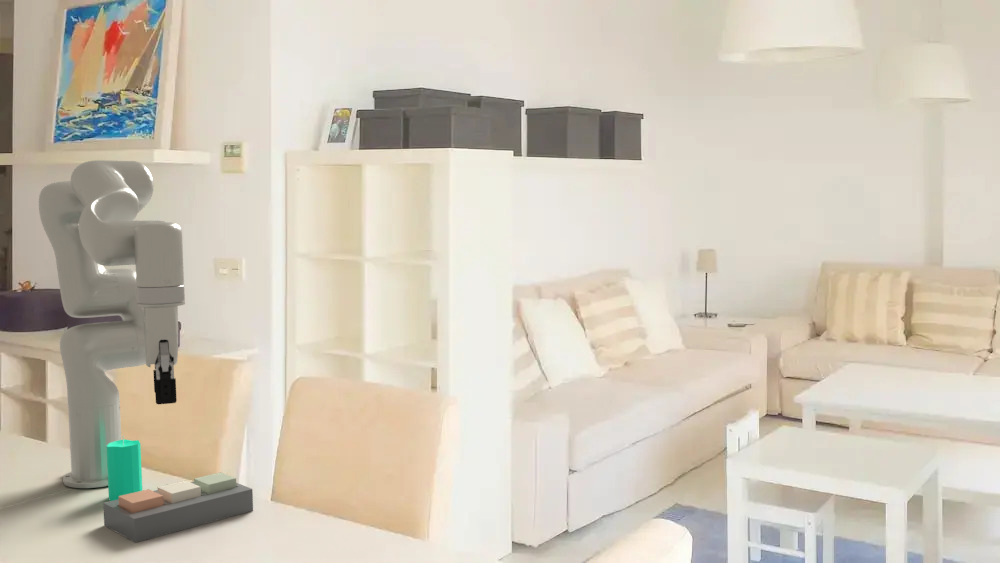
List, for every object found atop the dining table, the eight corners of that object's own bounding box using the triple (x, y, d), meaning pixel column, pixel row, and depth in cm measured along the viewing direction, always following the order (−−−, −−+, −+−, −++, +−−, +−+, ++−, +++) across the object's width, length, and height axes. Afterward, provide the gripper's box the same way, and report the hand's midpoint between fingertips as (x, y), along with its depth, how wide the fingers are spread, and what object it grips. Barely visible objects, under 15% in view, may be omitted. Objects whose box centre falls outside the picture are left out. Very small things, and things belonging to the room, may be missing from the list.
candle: (131, 503, 179) (128, 439, 178) (102, 501, 180) (99, 438, 179) (148, 493, 185) (146, 431, 184) (120, 491, 186) (118, 430, 185)
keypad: (104, 525, 167) (103, 502, 167) (219, 496, 183) (218, 475, 182) (135, 542, 159) (134, 518, 158) (253, 510, 174) (252, 488, 174)
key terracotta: (119, 514, 165) (118, 496, 165) (149, 506, 169) (148, 489, 169) (133, 521, 162) (132, 503, 161) (163, 513, 165) (163, 495, 165)
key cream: (158, 504, 170) (157, 487, 170) (186, 497, 174) (185, 480, 174) (172, 511, 167) (171, 493, 166) (201, 504, 170) (200, 486, 170)
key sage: (194, 495, 175) (194, 478, 175) (221, 489, 179) (220, 472, 179) (209, 502, 172) (209, 484, 171) (236, 495, 175) (236, 478, 175)
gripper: (136, 293, 167) (140, 390, 168) (137, 302, 151) (142, 410, 152) (182, 291, 170) (185, 386, 171) (187, 300, 154) (191, 406, 155)
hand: (165, 397), depth 162 cm, fingers open, 9 cm apart
